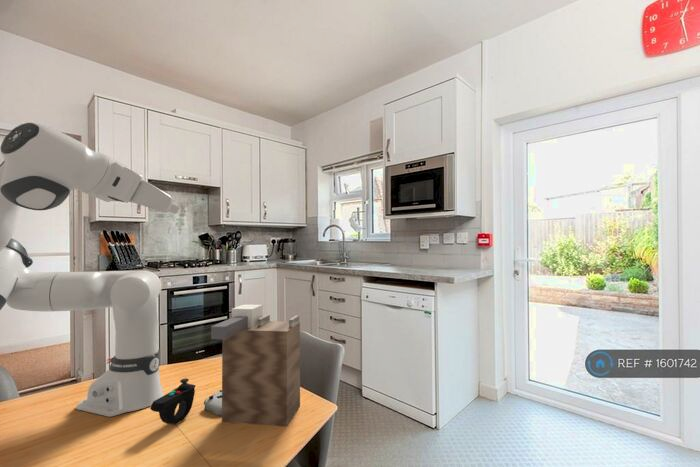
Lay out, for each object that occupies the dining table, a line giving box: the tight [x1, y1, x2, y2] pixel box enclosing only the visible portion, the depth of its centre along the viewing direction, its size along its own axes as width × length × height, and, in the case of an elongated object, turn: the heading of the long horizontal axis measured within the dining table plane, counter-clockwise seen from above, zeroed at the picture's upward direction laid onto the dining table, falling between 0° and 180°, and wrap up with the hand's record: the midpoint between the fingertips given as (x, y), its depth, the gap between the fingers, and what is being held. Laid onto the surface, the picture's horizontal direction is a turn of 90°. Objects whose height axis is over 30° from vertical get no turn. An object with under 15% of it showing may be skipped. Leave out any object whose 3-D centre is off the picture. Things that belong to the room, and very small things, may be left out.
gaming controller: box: [203, 389, 222, 416], centre depth 96 cm, size 11×6×7 cm
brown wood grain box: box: [221, 314, 301, 427], centre depth 92 cm, size 18×11×26 cm, turn 81°
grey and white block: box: [210, 304, 264, 340], centre depth 88 cm, size 6×19×5 cm, turn 171°
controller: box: [150, 377, 196, 425], centre depth 87 cm, size 4×12×10 cm, turn 164°
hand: (165, 207), depth 82 cm, fingers open, 8 cm apart
